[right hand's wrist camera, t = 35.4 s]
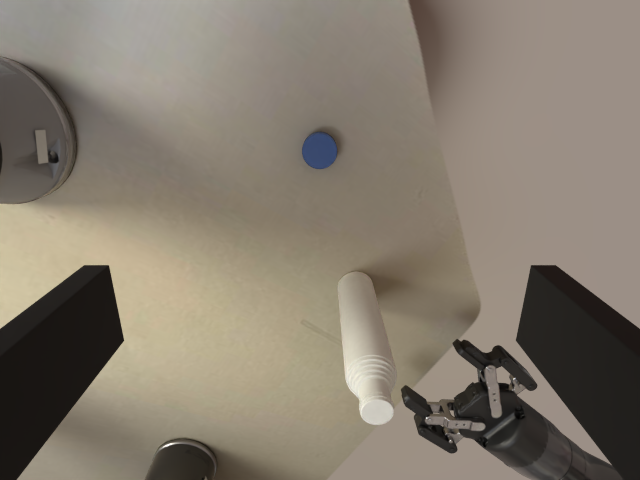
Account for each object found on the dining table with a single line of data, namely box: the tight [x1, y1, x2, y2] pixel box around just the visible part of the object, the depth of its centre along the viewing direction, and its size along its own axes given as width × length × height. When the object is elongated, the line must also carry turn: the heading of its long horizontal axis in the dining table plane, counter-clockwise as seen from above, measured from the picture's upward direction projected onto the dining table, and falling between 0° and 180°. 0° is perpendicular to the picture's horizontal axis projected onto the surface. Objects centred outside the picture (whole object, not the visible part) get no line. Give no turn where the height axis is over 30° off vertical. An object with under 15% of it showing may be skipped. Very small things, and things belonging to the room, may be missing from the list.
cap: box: [302, 132, 337, 169], centre depth 44 cm, size 4×4×2 cm
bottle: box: [338, 271, 397, 425], centre depth 41 cm, size 4×4×21 cm
